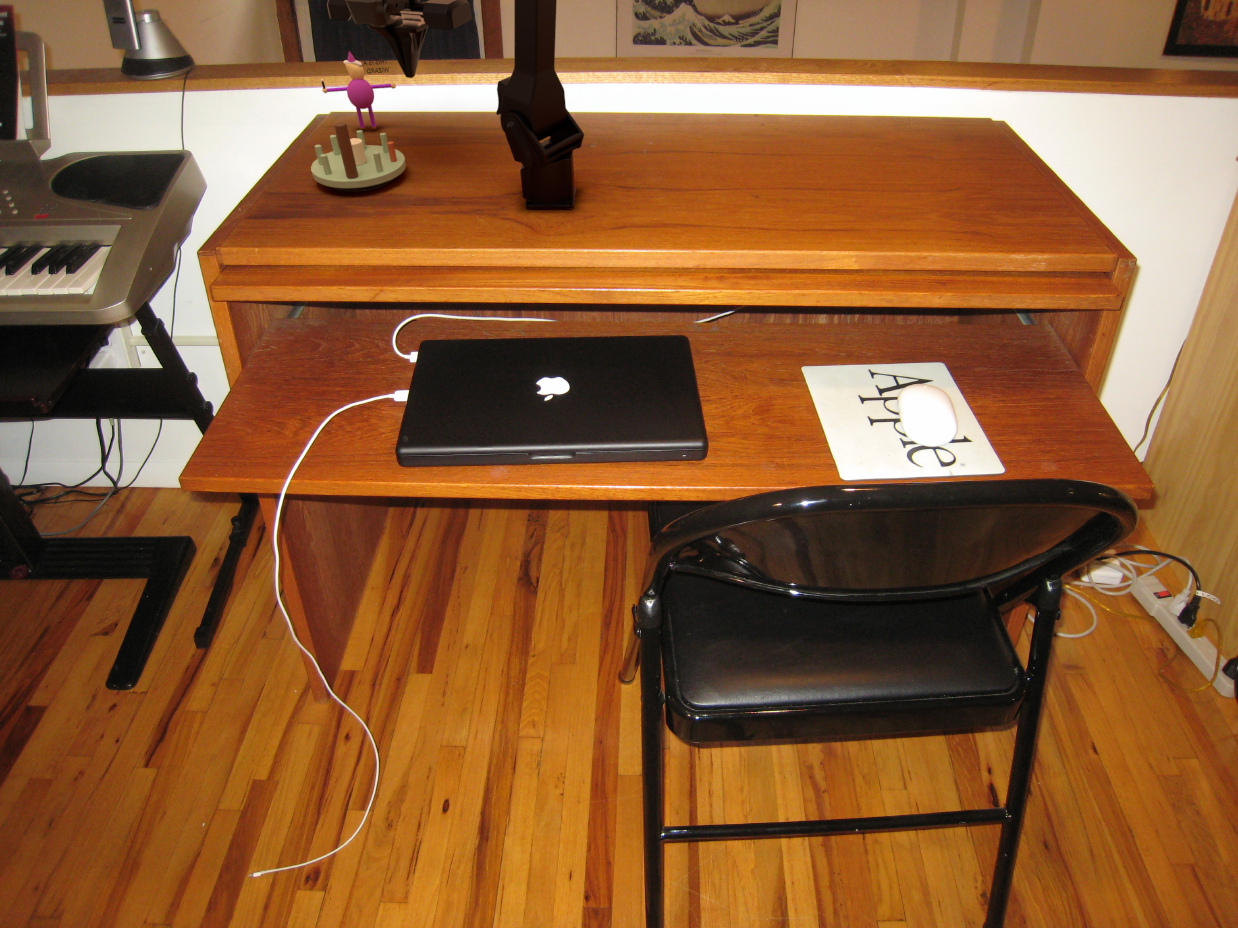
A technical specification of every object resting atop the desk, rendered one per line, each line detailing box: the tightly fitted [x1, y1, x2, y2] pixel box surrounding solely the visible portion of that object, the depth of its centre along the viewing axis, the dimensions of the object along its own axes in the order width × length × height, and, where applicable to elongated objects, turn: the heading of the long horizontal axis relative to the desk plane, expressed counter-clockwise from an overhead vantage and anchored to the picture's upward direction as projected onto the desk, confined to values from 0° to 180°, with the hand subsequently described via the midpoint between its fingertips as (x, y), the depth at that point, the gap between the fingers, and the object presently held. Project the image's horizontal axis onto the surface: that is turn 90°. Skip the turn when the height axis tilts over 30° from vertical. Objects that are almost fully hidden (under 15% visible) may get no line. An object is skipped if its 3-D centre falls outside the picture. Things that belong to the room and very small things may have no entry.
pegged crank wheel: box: [310, 121, 407, 189], centre depth 114 cm, size 13×13×8 cm
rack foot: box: [332, 179, 393, 193], centre depth 117 cm, size 9×9×1 cm
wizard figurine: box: [320, 50, 397, 131], centre depth 128 cm, size 11×3×12 cm, turn 99°
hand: (410, 77), depth 114 cm, fingers closed
